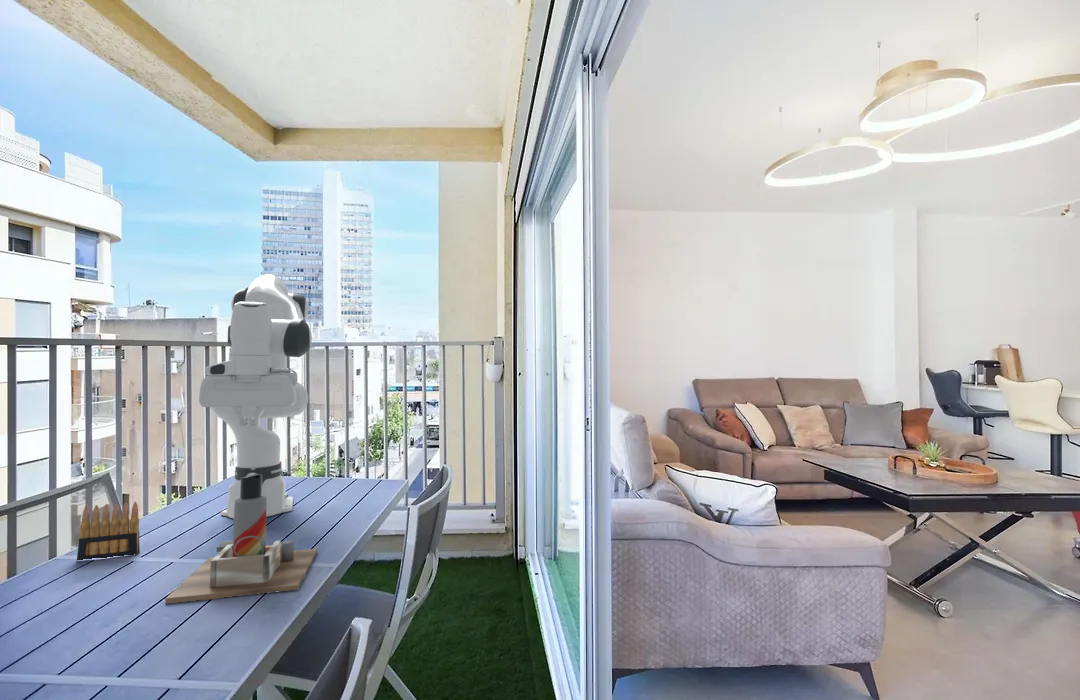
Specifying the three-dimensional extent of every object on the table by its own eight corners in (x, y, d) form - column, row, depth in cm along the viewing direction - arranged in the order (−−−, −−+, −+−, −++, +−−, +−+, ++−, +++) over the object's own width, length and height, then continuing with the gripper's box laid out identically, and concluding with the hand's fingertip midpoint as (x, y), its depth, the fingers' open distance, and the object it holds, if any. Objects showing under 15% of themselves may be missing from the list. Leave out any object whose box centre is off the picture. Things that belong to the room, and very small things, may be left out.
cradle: (209, 562, 107) (210, 534, 108) (317, 552, 113) (317, 526, 113) (165, 604, 88) (166, 570, 88) (298, 590, 94) (299, 558, 94)
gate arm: (294, 556, 107) (295, 540, 108) (292, 560, 105) (292, 544, 105) (230, 561, 104) (230, 545, 105) (225, 565, 102) (226, 549, 102)
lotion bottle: (250, 580, 96) (253, 477, 97) (225, 578, 97) (228, 476, 97) (271, 569, 101) (273, 472, 102) (246, 567, 102) (249, 471, 103)
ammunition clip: (139, 552, 113) (141, 500, 114) (136, 555, 111) (138, 502, 112) (80, 559, 109) (82, 505, 109) (76, 562, 107) (78, 507, 108)
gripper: (300, 368, 123) (299, 423, 122) (208, 367, 118) (206, 425, 117) (294, 367, 117) (293, 425, 116) (197, 367, 112) (195, 428, 111)
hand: (248, 425), depth 117 cm, fingers closed
